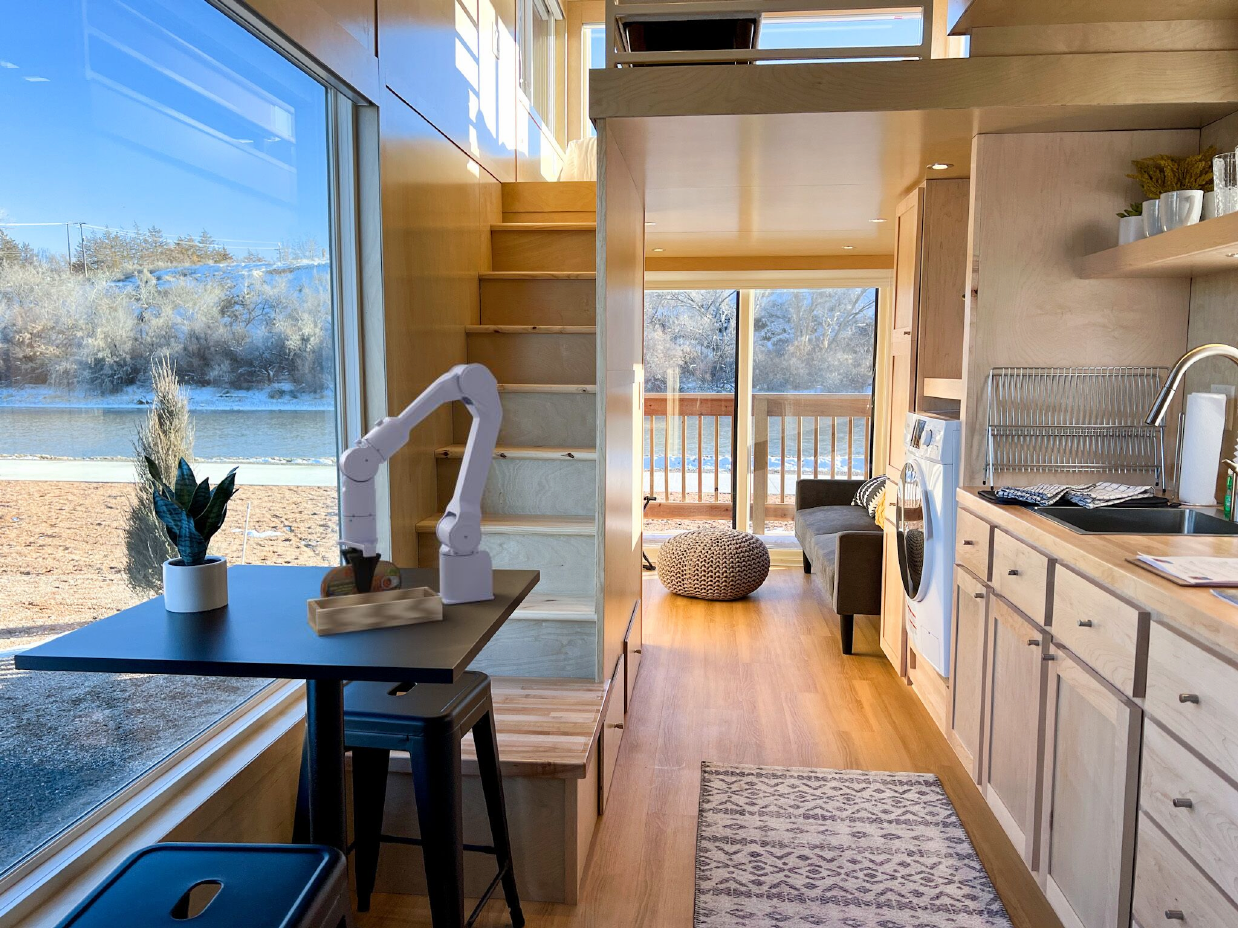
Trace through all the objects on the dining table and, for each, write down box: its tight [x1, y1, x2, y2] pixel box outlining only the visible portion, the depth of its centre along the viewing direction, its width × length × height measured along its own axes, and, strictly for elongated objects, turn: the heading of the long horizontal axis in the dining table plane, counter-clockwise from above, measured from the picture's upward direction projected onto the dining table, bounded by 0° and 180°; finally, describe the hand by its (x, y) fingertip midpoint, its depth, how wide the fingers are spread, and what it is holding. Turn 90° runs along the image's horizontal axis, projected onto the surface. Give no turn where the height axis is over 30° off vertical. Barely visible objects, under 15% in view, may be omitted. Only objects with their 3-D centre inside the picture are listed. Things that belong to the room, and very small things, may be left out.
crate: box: [306, 586, 443, 636], centre depth 152 cm, size 21×9×4 cm, turn 119°
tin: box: [319, 559, 403, 598], centre depth 160 cm, size 15×3×8 cm, turn 135°
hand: (361, 589), depth 160 cm, fingers closed on tin, 4 cm apart
